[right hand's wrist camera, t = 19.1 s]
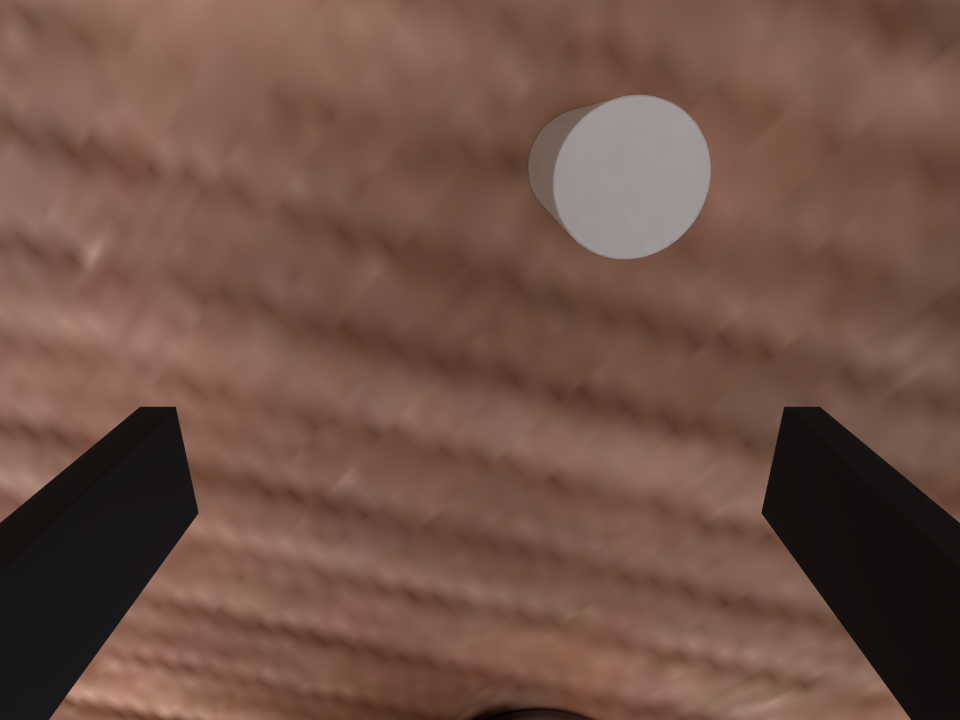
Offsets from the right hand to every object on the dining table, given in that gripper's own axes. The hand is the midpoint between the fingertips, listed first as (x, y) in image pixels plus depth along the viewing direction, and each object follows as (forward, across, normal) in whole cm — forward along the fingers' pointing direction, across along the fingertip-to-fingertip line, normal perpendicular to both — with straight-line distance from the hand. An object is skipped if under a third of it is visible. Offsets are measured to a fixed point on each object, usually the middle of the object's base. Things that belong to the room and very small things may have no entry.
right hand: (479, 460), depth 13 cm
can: (+20, -5, -5) cm, 22 cm away
